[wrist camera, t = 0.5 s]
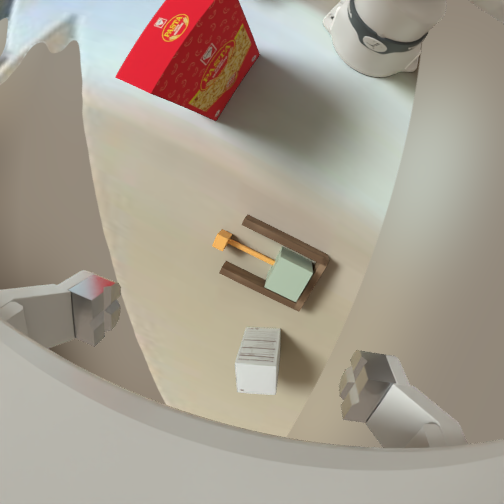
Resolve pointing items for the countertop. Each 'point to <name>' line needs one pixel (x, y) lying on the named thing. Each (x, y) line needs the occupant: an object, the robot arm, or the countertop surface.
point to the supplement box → (258, 361)
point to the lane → (288, 241)
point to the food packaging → (193, 54)
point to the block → (276, 267)
